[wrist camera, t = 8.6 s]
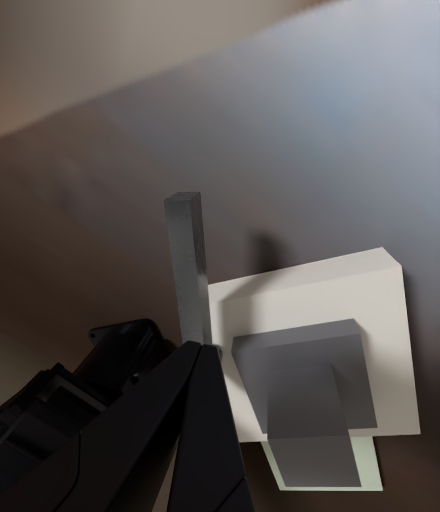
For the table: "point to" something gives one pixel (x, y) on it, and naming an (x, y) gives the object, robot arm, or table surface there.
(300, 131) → the table surface
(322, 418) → the plug
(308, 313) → the socket block
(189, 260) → the bar
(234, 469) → the robot arm
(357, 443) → the pad
